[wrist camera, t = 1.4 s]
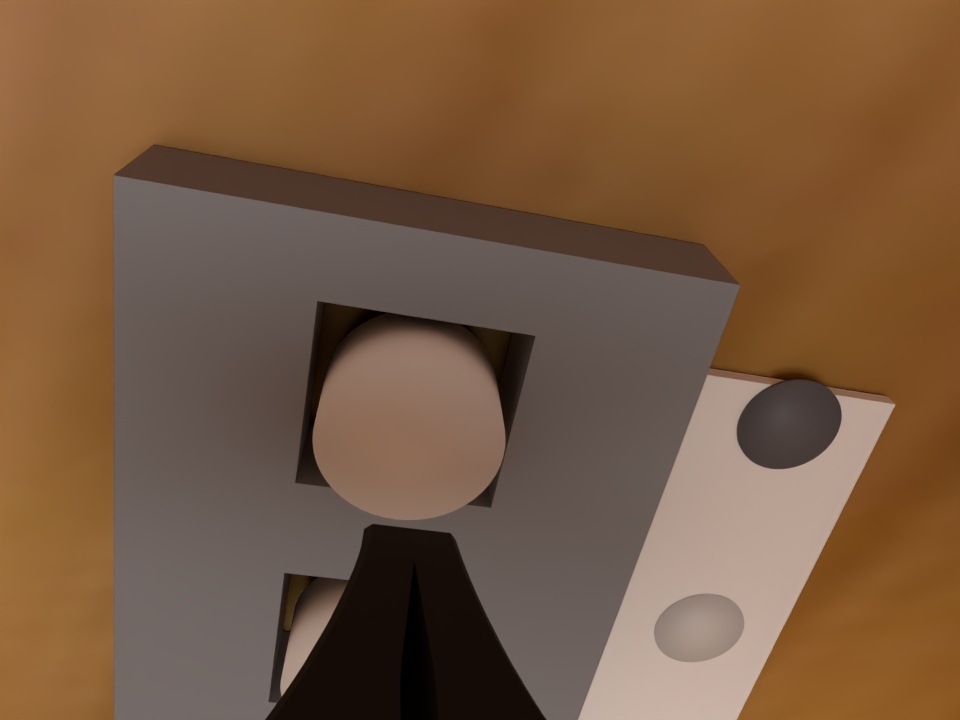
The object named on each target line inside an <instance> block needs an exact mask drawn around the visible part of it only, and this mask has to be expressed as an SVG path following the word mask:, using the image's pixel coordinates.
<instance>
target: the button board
mask: <svg viewBox="0 0 960 720" xmlns="http://www.w3.org/2000/svg"><path fill="white" fill-rule="evenodd" d="M113 204H114V708H115V720H265V719H266V718H267V716H268V715H269V714H270V712H271V711H272V709H273V708H274V707H275V705H276V704H277V702H278V701H279V700H280V698H281V690H280V684H281V677H282V672H283V667H284V662H285V656H286V651H287V646H288V641H289V636H290V632H284V631H283V627H284V619H285V611H286V604H287V596H288V588H289V580H290V574H298V575H307V576H317V577H326V578H335V579H344V580H349V579H350V576H351V574H352V571H353V569H354V566H355V564H356V561H357V558H358V555H359V552H360V548H361V544H362V538H363V532H364V529H365V528H366V527H368V526H370V525H371V524H379V525H387V526H396V527H404V528H413V529H421V530H430V531H438V532H447V533H451V534H452V536H453V537H454V538H455V539H456V542H457V545H458V548H459V551H460V554H461V556H462V559H463V562H464V564H465V567H466V570H467V572H468V574H469V577H470V579H471V582H472V584H473V586H474V589H475V591H476V593H477V595H478V598H479V600H480V602H481V604H482V606H483V608H484V611H485V613H486V615H487V617H488V619H489V621H490V623H491V625H492V627H493V629H494V631H495V633H496V635H497V637H498V638H499V640H500V642H501V644H502V646H503V648H504V650H505V652H506V654H507V655H508V657H509V659H510V661H511V663H512V664H513V666H514V668H515V670H516V671H517V673H518V675H519V676H520V678H521V680H522V682H523V683H524V685H525V687H526V688H527V690H528V692H529V693H530V695H531V696H532V698H533V700H534V701H535V703H536V704H537V706H538V707H539V709H540V710H541V712H542V714H543V715H544V717H545V718H546V719H547V720H578V717H579V715H580V712H581V709H582V707H583V704H584V701H585V699H586V696H587V693H588V691H589V688H590V685H591V683H592V680H593V677H594V675H595V672H596V669H597V667H598V664H599V661H600V659H601V656H602V654H603V651H604V648H605V646H606V643H607V640H608V638H609V635H610V632H611V630H612V627H613V624H614V622H615V619H616V616H617V614H618V611H619V608H620V606H621V603H622V600H623V598H624V595H625V592H626V590H627V587H628V584H629V582H630V579H631V576H632V574H633V571H634V568H635V566H636V563H637V560H638V558H639V555H640V552H641V550H642V547H643V544H644V542H645V539H646V536H647V534H648V531H649V528H650V526H651V523H652V520H653V518H654V515H655V512H656V510H657V507H658V504H659V502H660V499H661V496H662V494H663V491H664V488H665V486H666V483H667V480H668V478H669V475H670V472H671V470H672V467H673V464H674V462H675V459H676V456H677V454H678V451H679V448H680V446H681V443H682V440H683V438H684V435H685V432H686V430H687V427H688V424H689V422H690V419H691V416H692V414H693V411H694V408H695V406H696V403H697V400H698V398H699V395H700V392H701V390H702V387H703V384H704V382H705V379H706V376H707V374H708V371H709V368H710V366H711V363H712V360H713V358H714V355H715V352H716V350H717V347H718V344H719V342H720V339H721V336H722V334H723V331H724V328H725V326H726V323H727V320H728V318H729V315H730V312H731V310H732V307H733V304H734V302H735V299H736V296H737V294H738V291H739V288H740V286H741V285H740V284H739V283H738V282H737V281H736V280H735V279H734V278H733V276H732V275H731V274H730V273H729V272H728V271H727V270H726V269H725V268H724V267H723V266H722V264H721V263H720V262H719V261H718V260H717V259H716V258H715V257H714V256H713V255H712V253H711V252H710V251H709V250H708V249H707V248H706V247H705V246H704V245H701V244H695V243H690V242H684V241H679V240H673V239H668V238H662V237H657V236H652V235H646V234H641V233H635V232H630V231H624V230H619V229H613V228H608V227H602V226H597V225H591V224H586V223H580V222H575V221H569V220H564V219H558V218H553V217H547V216H542V215H536V214H531V213H525V212H520V211H514V210H509V209H503V208H498V207H492V206H487V205H481V204H476V203H470V202H465V201H459V200H454V199H448V198H443V197H437V196H432V195H426V194H421V193H415V192H410V191H404V190H399V189H393V188H388V187H382V186H377V185H371V184H366V183H361V182H355V181H350V180H344V179H339V178H333V177H328V176H322V175H317V174H311V173H306V172H300V171H295V170H289V169H284V168H278V167H273V166H267V165H262V164H256V163H251V162H245V161H240V160H234V159H229V158H223V157H218V156H212V155H207V154H201V153H196V152H190V151H185V150H179V149H174V148H168V147H163V146H157V145H153V146H151V147H150V148H149V149H147V150H146V151H145V152H143V153H142V154H141V155H140V156H138V157H137V158H136V159H134V160H133V161H132V162H130V163H129V164H128V165H126V166H125V167H124V168H122V169H121V170H120V171H118V172H117V173H116V174H114V175H113ZM324 302H326V303H333V304H339V305H345V306H351V307H358V308H364V309H370V310H376V311H383V312H389V313H395V314H402V315H408V316H414V317H420V318H427V319H433V320H439V321H445V322H452V323H458V324H464V325H471V326H477V327H483V328H489V329H496V330H502V331H508V332H513V333H512V337H511V341H510V345H509V349H508V354H507V358H506V362H505V366H504V370H503V374H502V378H501V382H500V386H499V390H498V391H499V397H500V403H501V409H502V415H503V422H504V428H505V451H504V456H503V459H502V462H501V465H500V468H499V470H498V471H497V473H496V475H495V477H494V478H493V480H492V481H491V483H490V484H489V485H488V486H487V487H486V489H485V490H484V491H483V492H482V493H481V494H480V495H478V496H477V497H476V498H475V499H474V500H472V501H471V502H469V503H468V504H466V505H465V506H463V507H461V508H459V509H457V510H455V511H453V512H450V513H447V514H445V515H442V516H438V517H434V518H429V519H421V520H396V519H390V518H384V517H380V516H377V515H373V514H371V513H368V512H366V511H363V510H361V509H359V508H357V507H355V506H354V505H352V504H350V503H349V502H347V501H346V500H345V499H343V498H342V497H341V496H340V495H339V494H338V493H336V492H335V491H334V490H333V489H332V487H331V486H330V485H329V484H328V483H327V481H326V480H325V478H324V477H323V475H322V473H321V472H320V469H319V467H318V465H317V463H316V459H315V455H314V451H313V442H312V441H313V428H314V425H309V421H310V413H311V405H312V397H313V389H314V382H315V374H316V366H317V358H318V350H319V342H320V334H321V326H322V318H323V310H324Z"/></svg>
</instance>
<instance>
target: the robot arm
mask: <svg viewBox="0 0 960 720" xmlns="http://www.w3.org/2000/svg"><path fill="white" fill-rule="evenodd" d="M265 720H547V719H546V718H545V717H544V715H543V714H542V712H541V710H540V709H539V707H538V706H537V704H536V703H535V701H534V700H533V698H532V696H531V695H530V693H529V692H528V690H527V688H526V687H525V685H524V683H523V682H522V680H521V678H520V676H519V675H518V673H517V671H516V670H515V668H514V666H513V664H512V663H511V661H510V659H509V657H508V655H507V654H506V652H505V650H504V648H503V646H502V644H501V642H500V640H499V638H498V637H497V635H496V633H495V631H494V629H493V627H492V625H491V623H490V621H489V619H488V617H487V615H486V613H485V611H484V608H483V606H482V604H481V602H480V600H479V598H478V595H477V593H476V591H475V589H474V586H473V584H472V582H471V579H470V577H469V574H468V572H467V570H466V567H465V564H464V562H463V559H462V556H461V554H460V551H459V548H458V545H457V542H456V539H455V538H454V537H453V536H452V534H451V533H447V532H438V531H430V530H421V529H413V528H404V527H396V526H387V525H379V524H371V525H370V526H368V527H366V528H365V529H364V532H363V538H362V544H361V548H360V552H359V555H358V558H357V561H356V564H355V566H354V569H353V571H352V574H351V576H350V579H349V581H348V583H347V586H346V588H345V590H344V592H343V594H342V596H341V598H340V600H339V602H338V604H337V606H336V608H335V610H334V612H333V614H332V616H331V618H330V620H329V622H328V623H327V625H326V627H325V629H324V630H323V632H322V634H321V636H320V637H319V639H318V641H317V642H316V644H315V646H314V647H313V649H312V651H311V652H310V654H309V656H308V657H307V659H306V661H305V662H304V664H303V666H302V667H301V669H300V670H299V672H298V673H297V675H296V676H295V678H294V679H293V681H292V682H291V684H290V685H289V687H288V688H287V690H286V691H285V693H284V694H283V695H282V697H281V698H280V700H279V701H278V702H277V704H276V705H275V707H274V708H273V709H272V711H271V712H270V714H269V715H268V716H267V718H266V719H265Z"/></svg>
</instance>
